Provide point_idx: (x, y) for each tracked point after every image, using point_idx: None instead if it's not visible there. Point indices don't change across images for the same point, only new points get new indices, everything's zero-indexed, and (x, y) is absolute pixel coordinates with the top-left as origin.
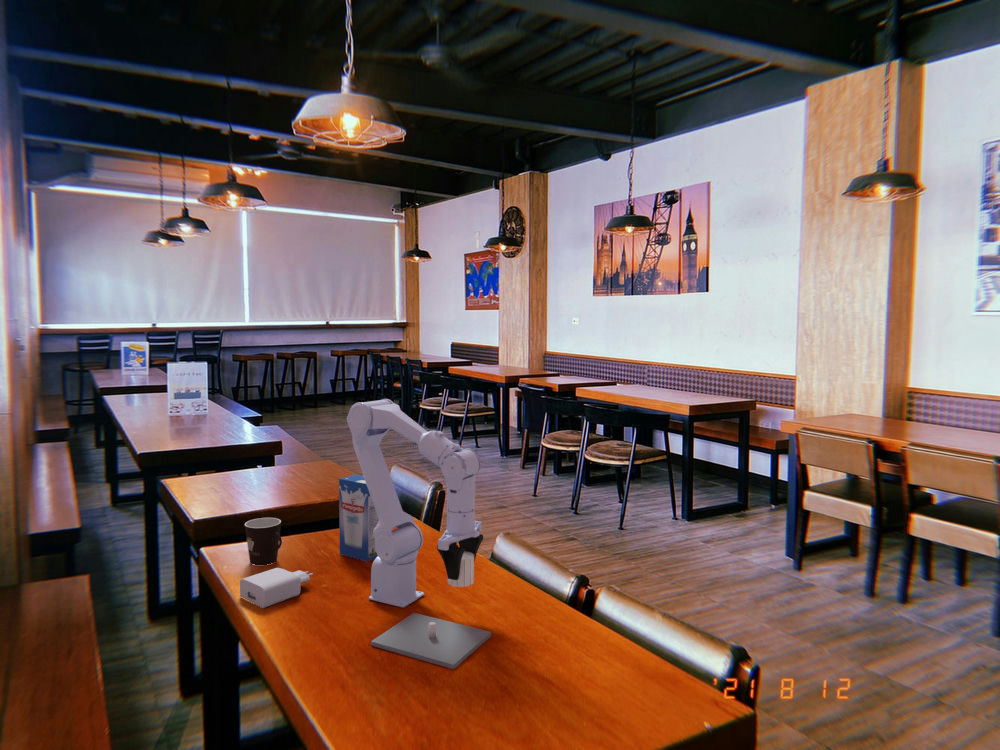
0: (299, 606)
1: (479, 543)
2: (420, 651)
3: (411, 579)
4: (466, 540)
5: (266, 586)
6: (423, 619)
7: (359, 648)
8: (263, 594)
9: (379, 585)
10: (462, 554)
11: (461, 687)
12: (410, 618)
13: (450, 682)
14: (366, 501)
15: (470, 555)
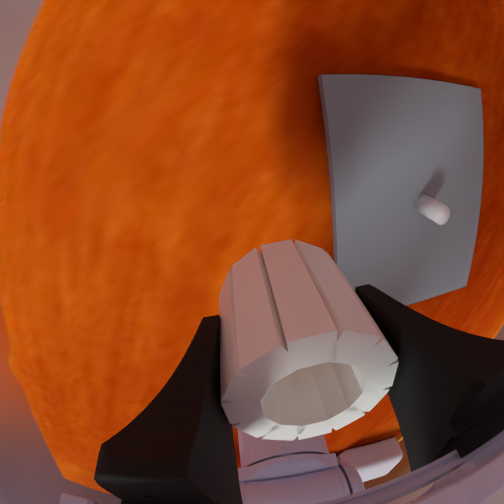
0: (375, 429)
1: (153, 429)
2: (473, 181)
3: None
4: (226, 484)
5: (396, 459)
6: (358, 283)
7: (470, 287)
8: (400, 450)
9: None
10: (448, 358)
11: (495, 52)
12: None
13: (496, 76)
14: None
15: (276, 371)
